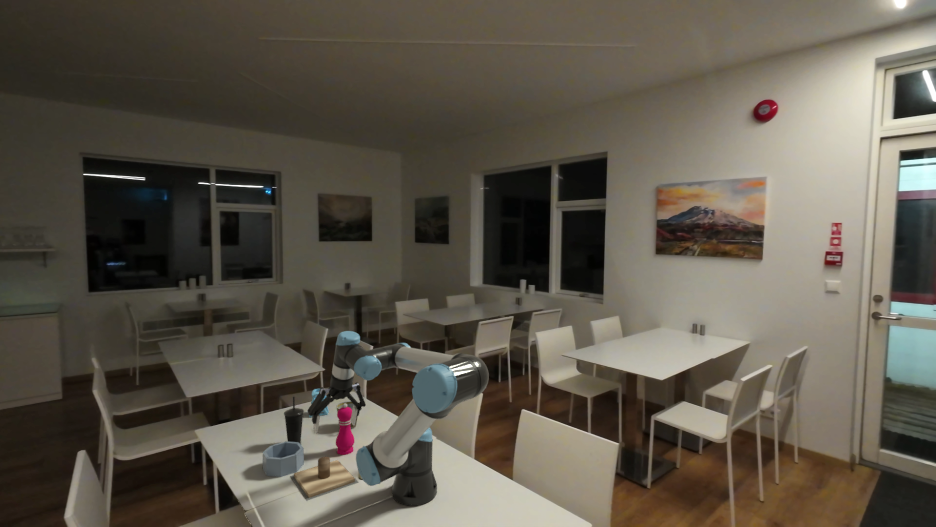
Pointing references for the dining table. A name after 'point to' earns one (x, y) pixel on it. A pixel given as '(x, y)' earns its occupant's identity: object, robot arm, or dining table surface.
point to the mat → (322, 493)
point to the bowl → (283, 459)
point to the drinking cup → (294, 423)
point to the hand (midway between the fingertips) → (334, 426)
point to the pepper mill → (344, 431)
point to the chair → (315, 392)
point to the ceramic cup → (349, 404)
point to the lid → (323, 477)
